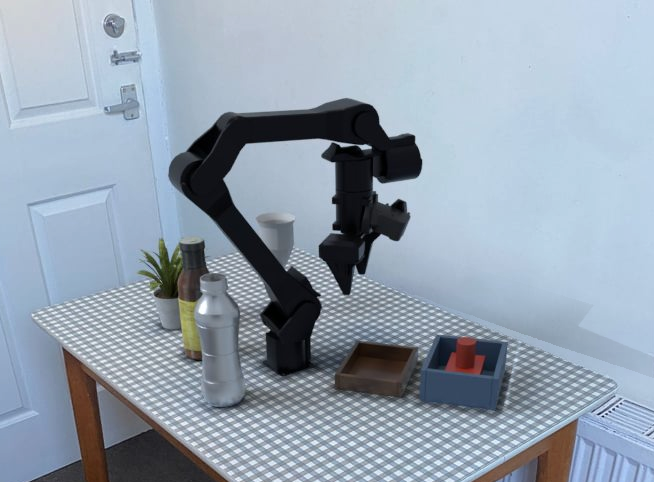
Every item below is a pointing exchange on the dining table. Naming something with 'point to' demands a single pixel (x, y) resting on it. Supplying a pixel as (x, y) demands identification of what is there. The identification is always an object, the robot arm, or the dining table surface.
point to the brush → (466, 358)
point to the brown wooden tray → (377, 369)
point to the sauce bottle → (191, 292)
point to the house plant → (166, 285)
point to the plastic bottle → (219, 342)
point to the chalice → (277, 234)
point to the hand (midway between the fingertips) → (354, 284)
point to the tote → (463, 375)
